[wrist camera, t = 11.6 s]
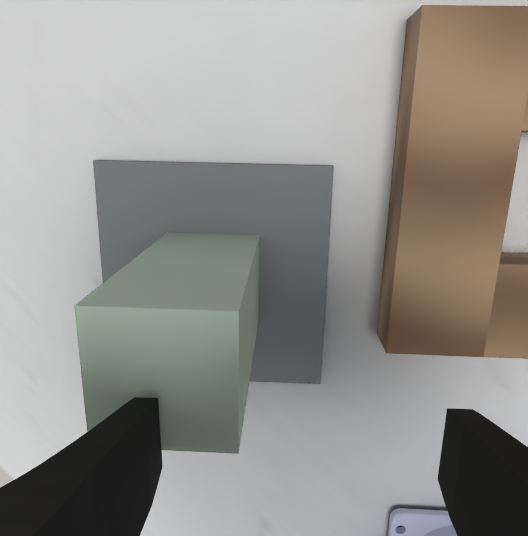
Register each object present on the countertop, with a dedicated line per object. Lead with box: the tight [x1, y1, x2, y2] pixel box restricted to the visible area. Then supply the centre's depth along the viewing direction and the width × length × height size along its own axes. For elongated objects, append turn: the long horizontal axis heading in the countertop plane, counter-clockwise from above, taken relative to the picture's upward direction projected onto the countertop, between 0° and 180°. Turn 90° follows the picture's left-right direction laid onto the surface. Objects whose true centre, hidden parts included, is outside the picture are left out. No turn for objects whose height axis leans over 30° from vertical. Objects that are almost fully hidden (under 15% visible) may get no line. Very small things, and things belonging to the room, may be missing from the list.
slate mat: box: [93, 160, 334, 384], centre depth 20 cm, size 10×10×1 cm
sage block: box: [75, 233, 260, 453], centre depth 16 cm, size 4×4×9 cm
